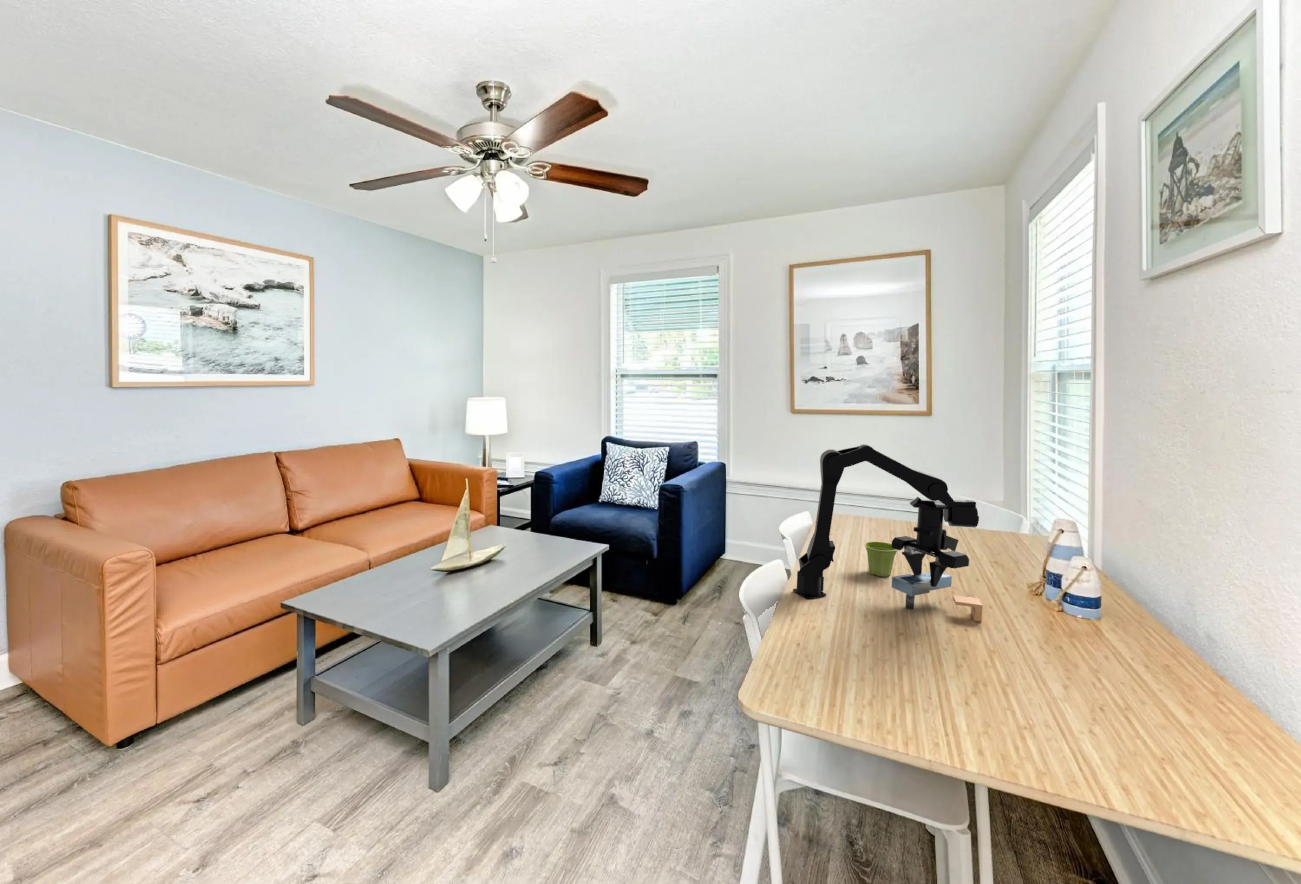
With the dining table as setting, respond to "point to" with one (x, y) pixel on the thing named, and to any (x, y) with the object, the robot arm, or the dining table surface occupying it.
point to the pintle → (909, 602)
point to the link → (919, 583)
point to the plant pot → (880, 558)
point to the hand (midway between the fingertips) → (926, 583)
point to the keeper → (970, 605)
